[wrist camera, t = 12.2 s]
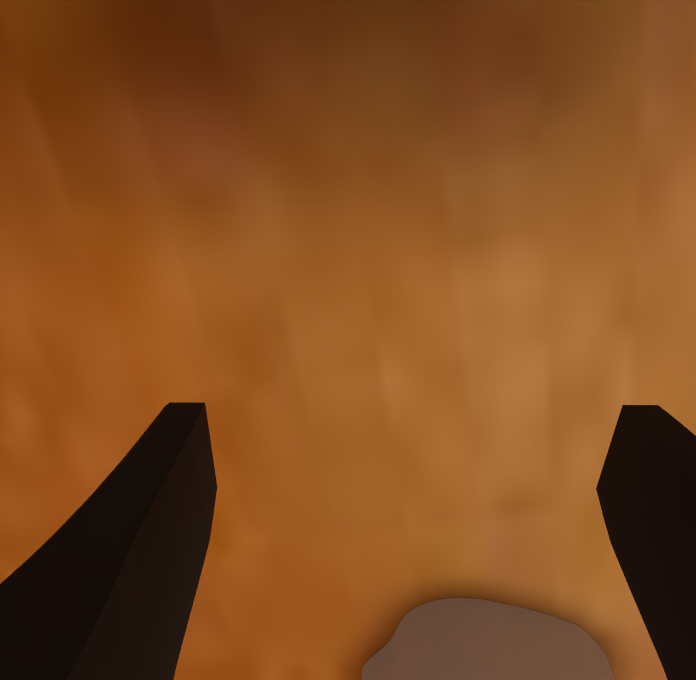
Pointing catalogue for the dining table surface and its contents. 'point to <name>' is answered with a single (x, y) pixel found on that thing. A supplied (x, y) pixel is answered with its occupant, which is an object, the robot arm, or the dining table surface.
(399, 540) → the dining table surface
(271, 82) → the dining table surface
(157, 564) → the robot arm
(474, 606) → the lumpy-topped squat cylinder
